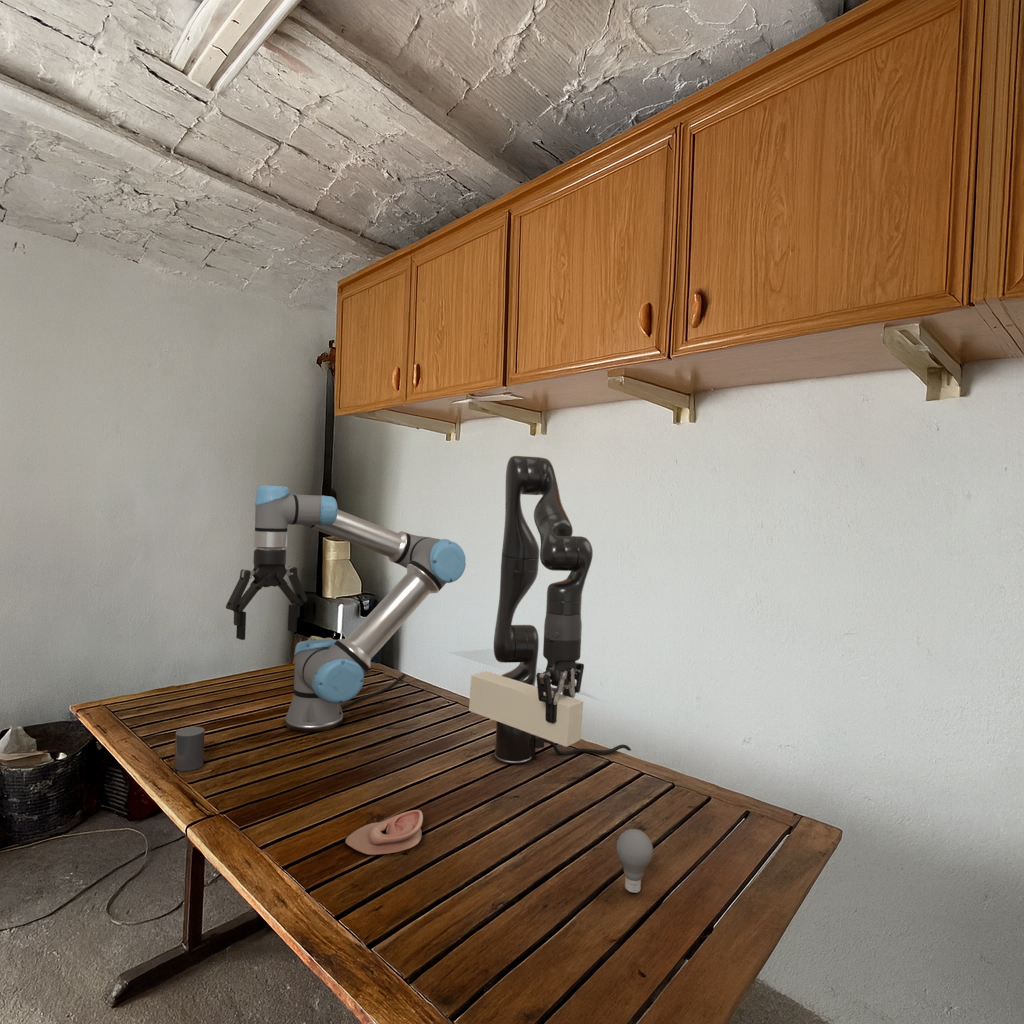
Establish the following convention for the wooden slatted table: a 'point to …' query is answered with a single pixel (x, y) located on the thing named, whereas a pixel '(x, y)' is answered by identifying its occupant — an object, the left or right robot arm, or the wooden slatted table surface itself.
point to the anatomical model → (388, 834)
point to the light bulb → (634, 857)
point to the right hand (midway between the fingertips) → (558, 718)
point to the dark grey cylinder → (189, 748)
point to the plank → (525, 708)
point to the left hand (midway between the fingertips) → (267, 635)
